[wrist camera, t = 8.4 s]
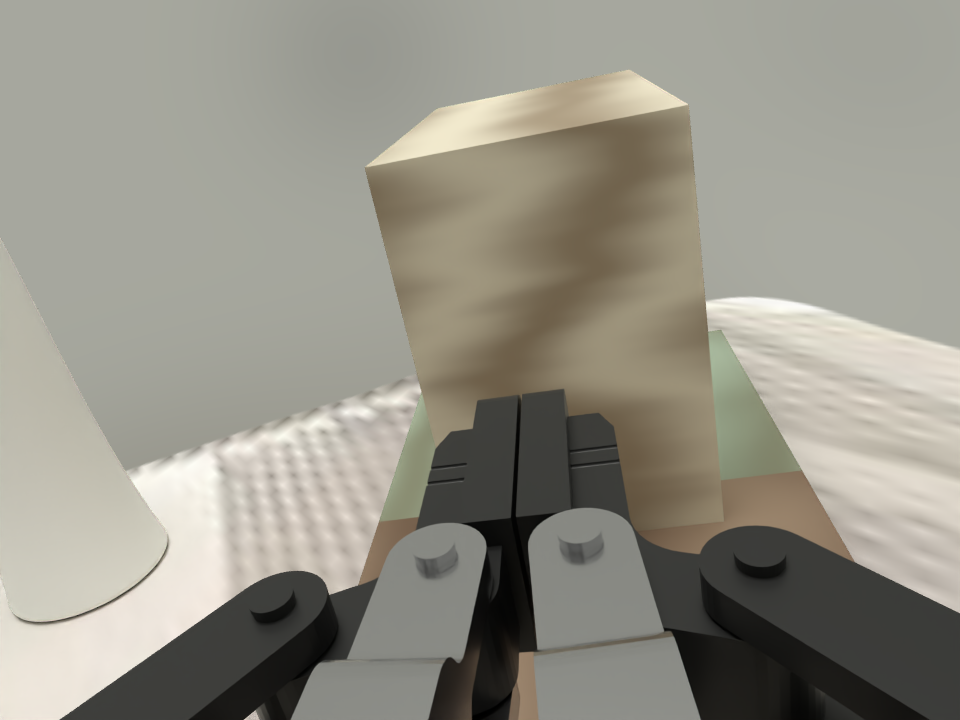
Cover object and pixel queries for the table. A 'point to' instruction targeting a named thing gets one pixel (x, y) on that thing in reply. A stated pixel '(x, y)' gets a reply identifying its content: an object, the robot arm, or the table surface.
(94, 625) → the table surface
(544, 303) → the maple block
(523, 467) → the robot arm
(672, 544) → the trap box
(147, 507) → the cosmetic bottle
